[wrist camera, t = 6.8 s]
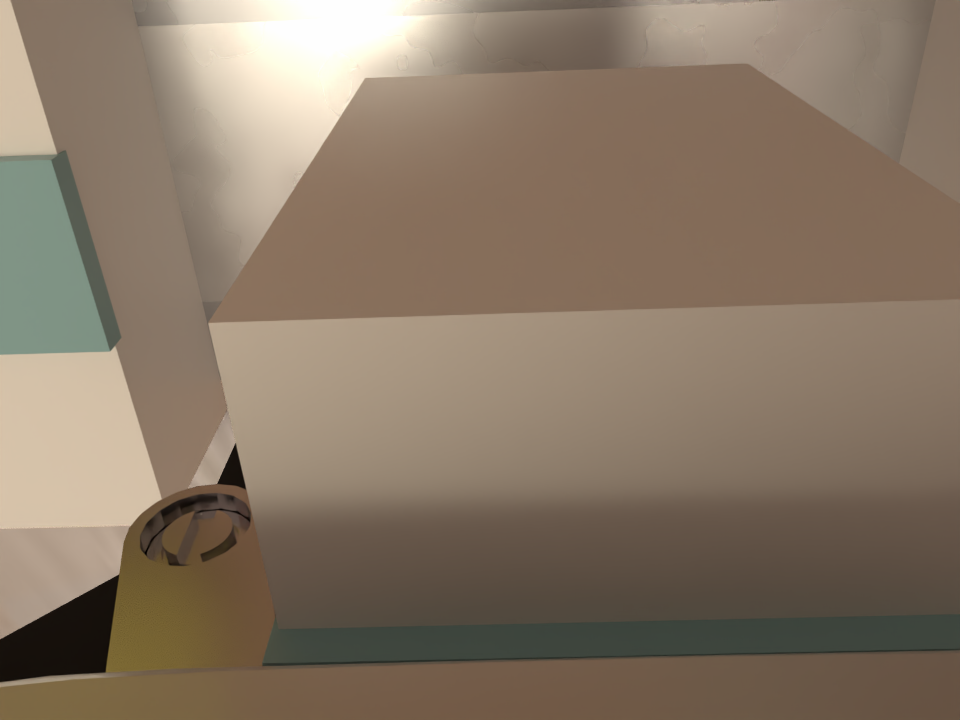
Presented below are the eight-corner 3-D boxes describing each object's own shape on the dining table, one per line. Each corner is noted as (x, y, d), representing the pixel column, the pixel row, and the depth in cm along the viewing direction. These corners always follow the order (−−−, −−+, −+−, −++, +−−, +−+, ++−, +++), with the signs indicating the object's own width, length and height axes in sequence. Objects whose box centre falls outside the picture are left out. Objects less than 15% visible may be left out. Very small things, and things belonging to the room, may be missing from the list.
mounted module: (97, -155, 17) (-51, -169, 12) (228, 408, 24) (166, 534, 19) (-144, -144, 17) (-381, -154, 12) (58, 413, 24) (-45, 539, 19)
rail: (1207, -148, 18) (1263, -151, 17) (1040, 330, 24) (1071, 356, 23) (-122, -90, 19) (-168, -87, 18) (39, 359, 25) (15, 385, 24)
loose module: (751, 63, 11) (1145, 319, 4) (694, 530, 15) (853, 1020, 8) (360, 78, 11) (181, 348, 4) (410, 537, 15) (353, 1025, 8)
